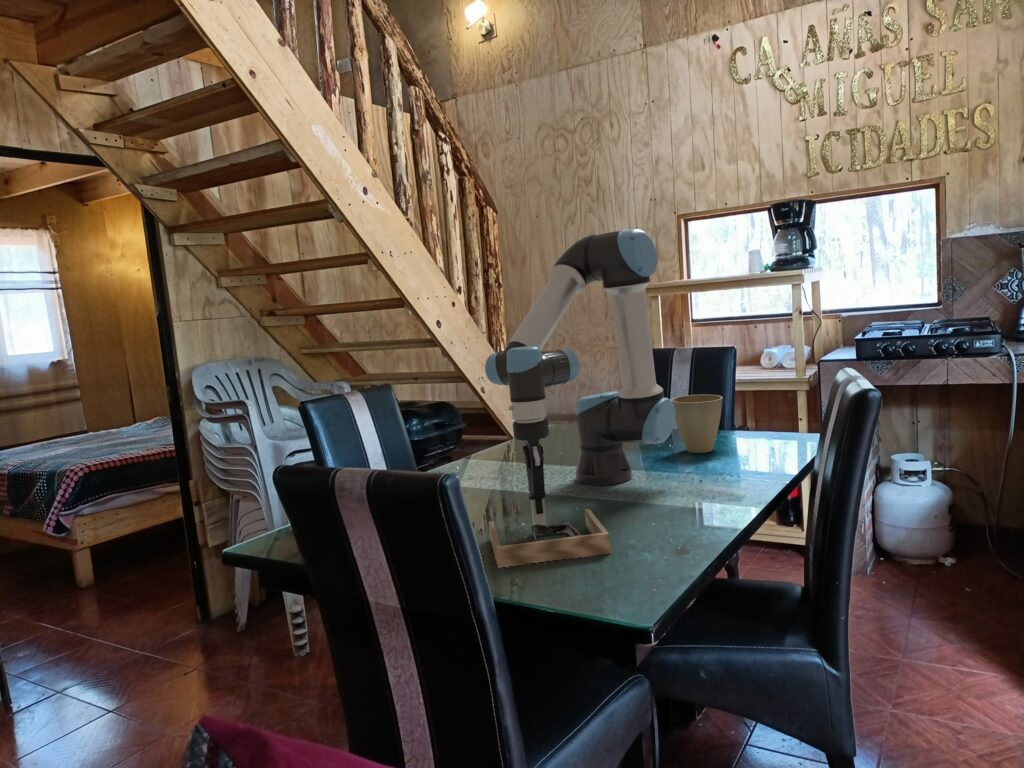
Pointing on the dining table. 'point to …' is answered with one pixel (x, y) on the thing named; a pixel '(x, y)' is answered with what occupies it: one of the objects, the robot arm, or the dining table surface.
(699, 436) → the plant pot
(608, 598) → the dining table surface
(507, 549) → the box
